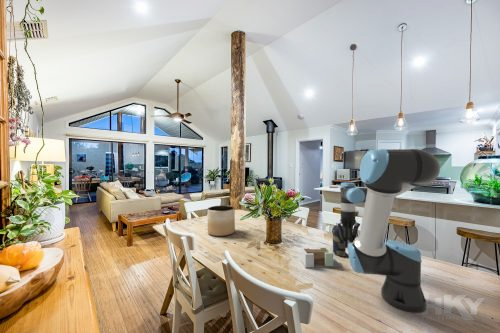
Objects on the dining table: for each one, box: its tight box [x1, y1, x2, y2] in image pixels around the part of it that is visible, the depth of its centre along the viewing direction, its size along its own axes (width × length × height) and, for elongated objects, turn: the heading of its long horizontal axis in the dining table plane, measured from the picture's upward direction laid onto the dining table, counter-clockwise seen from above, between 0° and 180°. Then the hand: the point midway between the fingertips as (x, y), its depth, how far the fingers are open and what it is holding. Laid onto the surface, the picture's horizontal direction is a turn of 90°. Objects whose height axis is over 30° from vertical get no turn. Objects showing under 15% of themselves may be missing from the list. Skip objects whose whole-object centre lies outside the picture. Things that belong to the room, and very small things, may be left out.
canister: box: [332, 224, 349, 257], centre depth 134 cm, size 10×10×18 cm
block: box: [305, 248, 329, 265], centre depth 122 cm, size 4×12×7 cm, turn 88°
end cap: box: [319, 246, 334, 266], centre depth 122 cm, size 9×4×7 cm, turn 2°
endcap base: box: [300, 247, 343, 269], centre depth 122 cm, size 9×20×7 cm, turn 92°
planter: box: [207, 204, 236, 237], centre depth 176 cm, size 22×22×20 cm
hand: (348, 253), depth 120 cm, fingers closed
